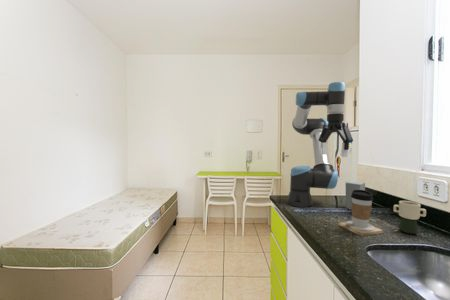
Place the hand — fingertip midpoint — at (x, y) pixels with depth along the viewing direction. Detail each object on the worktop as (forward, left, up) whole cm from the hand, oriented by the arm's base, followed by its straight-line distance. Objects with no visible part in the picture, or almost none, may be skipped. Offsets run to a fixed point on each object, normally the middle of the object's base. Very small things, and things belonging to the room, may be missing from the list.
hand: (333, 155), depth 111 cm
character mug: (+24, +19, -32) cm, 44 cm away
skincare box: (-7, +23, -32) cm, 40 cm away
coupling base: (+16, +1, -32) cm, 36 cm away
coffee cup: (+16, +1, -30) cm, 34 cm away
